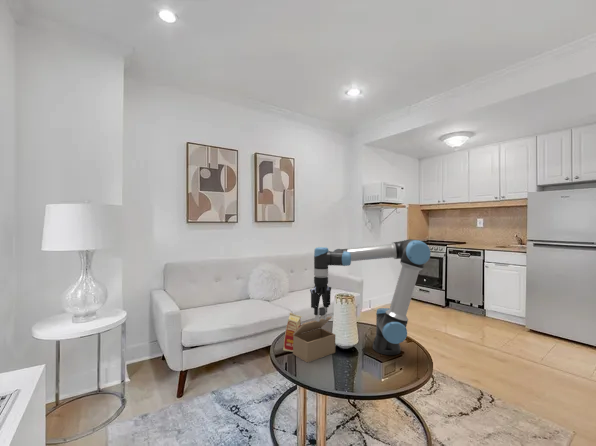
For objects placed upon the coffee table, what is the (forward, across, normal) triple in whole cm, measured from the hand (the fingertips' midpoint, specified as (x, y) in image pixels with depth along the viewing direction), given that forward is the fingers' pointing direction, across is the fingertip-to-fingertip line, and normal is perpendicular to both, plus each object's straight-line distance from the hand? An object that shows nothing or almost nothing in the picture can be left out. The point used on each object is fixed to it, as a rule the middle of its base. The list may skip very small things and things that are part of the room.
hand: (320, 319), depth 156 cm
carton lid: (+3, 0, -3) cm, 4 cm away
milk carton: (+20, +5, -17) cm, 26 cm away
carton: (+19, 0, -5) cm, 20 cm away
